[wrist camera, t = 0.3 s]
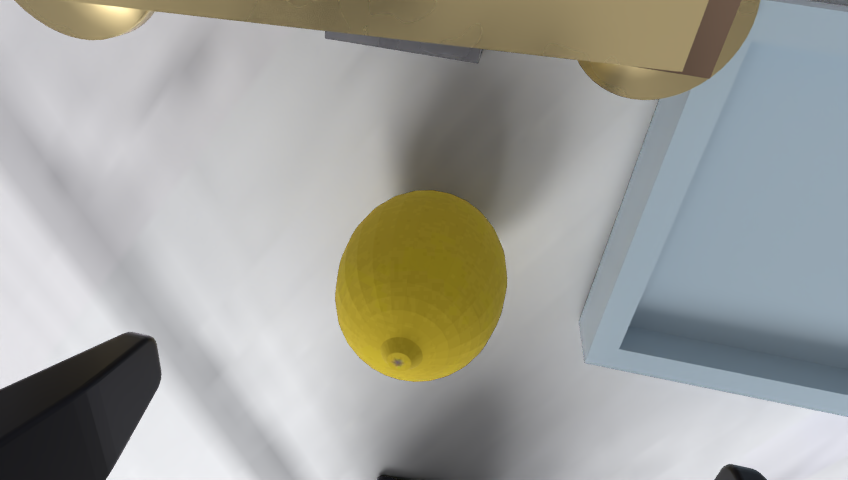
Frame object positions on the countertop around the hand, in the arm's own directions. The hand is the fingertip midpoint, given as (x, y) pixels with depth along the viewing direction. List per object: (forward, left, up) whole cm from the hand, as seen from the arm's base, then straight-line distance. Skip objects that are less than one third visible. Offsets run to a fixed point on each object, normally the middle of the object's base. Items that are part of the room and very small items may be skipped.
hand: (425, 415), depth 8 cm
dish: (-1, -12, -13) cm, 17 cm away
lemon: (-4, +1, -13) cm, 13 cm away
